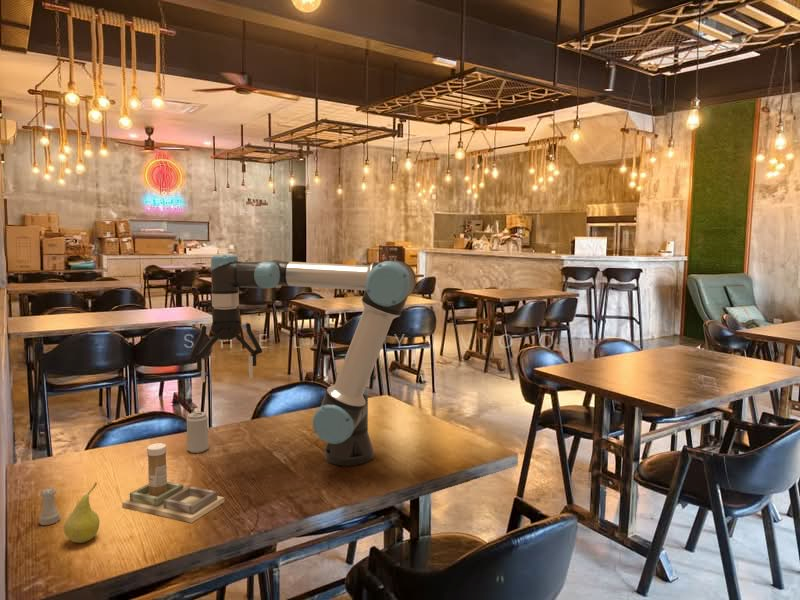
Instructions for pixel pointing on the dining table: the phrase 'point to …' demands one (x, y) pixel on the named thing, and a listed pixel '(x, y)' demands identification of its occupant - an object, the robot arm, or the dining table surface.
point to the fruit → (82, 521)
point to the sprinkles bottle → (157, 469)
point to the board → (175, 502)
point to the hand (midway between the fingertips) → (227, 379)
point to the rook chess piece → (48, 507)
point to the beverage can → (197, 432)
